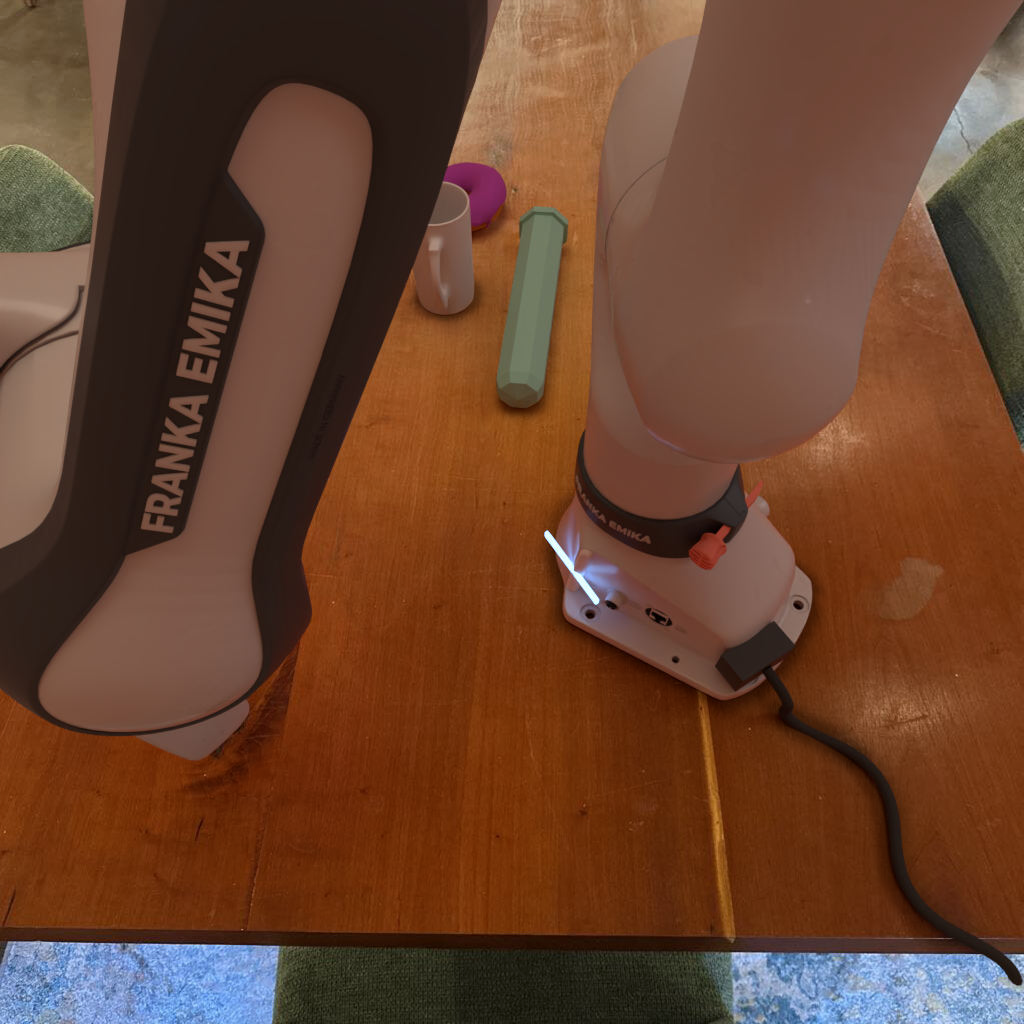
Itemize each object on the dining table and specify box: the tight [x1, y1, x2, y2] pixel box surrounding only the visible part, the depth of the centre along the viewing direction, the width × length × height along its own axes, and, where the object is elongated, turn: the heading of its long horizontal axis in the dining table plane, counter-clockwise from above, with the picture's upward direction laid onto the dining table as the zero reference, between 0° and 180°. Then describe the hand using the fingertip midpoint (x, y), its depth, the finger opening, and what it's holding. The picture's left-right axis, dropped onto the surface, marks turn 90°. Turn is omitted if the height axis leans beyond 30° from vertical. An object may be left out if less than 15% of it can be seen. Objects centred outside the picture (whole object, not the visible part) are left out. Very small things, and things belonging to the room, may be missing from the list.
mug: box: [412, 182, 475, 316], centre depth 79 cm, size 10×7×12 cm, turn 179°
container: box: [495, 205, 569, 409], centre depth 80 cm, size 6×6×25 cm
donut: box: [443, 161, 508, 233], centre depth 90 cm, size 10×10×5 cm
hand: (158, 655), depth 47 cm, fingers closed on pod, 4 cm apart
